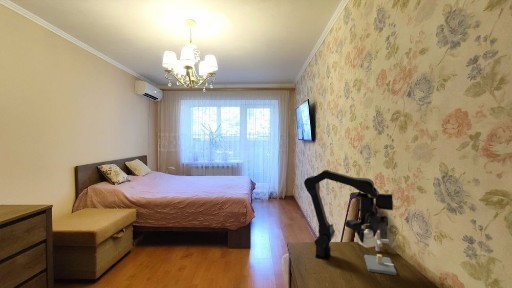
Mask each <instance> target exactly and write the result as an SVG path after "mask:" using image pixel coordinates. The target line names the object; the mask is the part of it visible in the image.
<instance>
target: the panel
mask: <svg viewBox="0 0 512 288" xmlns="http://www.w3.org/2000/svg"><path fill="white" fill-rule="evenodd" d="M363 257H364V258H363V259H364V261H365V262H364V263H365V264H366V269H367V271H368V272H371V273H378V274H385V275H386V274H387V275H392V276H397V273H398V272H397V270H396V268H395V264H393V261H392V260H391V258H390V257H385V256H382V254H378V253H376V255H370V254H364V256H363Z"/></svg>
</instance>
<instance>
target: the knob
mask: <svg viewBox="0 0 512 288" xmlns="http://www.w3.org/2000/svg"><path fill="white" fill-rule="evenodd" d="M364 229H365V228H364ZM358 244H359V245H361V246H363V247H364V248H366V249H367V248H372V247H376V237H374V236H373V231H371V230H369V228H367V229H365V231H364V241H363V243H362V242H361V241H360V239H359V238H358Z"/></svg>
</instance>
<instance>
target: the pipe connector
mask: <svg viewBox="0 0 512 288" xmlns="http://www.w3.org/2000/svg"><path fill="white" fill-rule="evenodd" d="M375 237H376V246H375V251H377V252H380V251H381V250H380V248H382V247H383V244H389V243H390V240H389V239H387V238H385V239H384V238H381V231H380V230H378V231H377V233H376V235H375Z"/></svg>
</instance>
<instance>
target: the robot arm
mask: <svg viewBox="0 0 512 288" xmlns="http://www.w3.org/2000/svg"><path fill="white" fill-rule="evenodd" d="M324 180H330V181H333V182H336V183H339V184H342V185H343V184H344V185H346V186H349V187H352V188H354V189H355V190H357V193H355V197H356V198H359V208H358V209H357V211H359V216H358V217H357V220H356V219H353V218H352V219H347V220H346V221H345V227H347V228H348V229H350V230H353V231H355V232H356V234H357V237H358V240H359V239H360V241H361V242H362V243H363V241H364V231H365V228H364V226H368V230H371V231H373V236H374V237H375V235H376V233H377V231H380V230H383V229H384V228H385V227H387V226H389V221H388V217H387V216H386V215H382V216H380V215H378V214H377V211H376V210H375V207H376V208H377V210H378V209H379V210H386V211H393V210H394V200H393V194H392V193H380V191H378V189H377V188H376V187H375V182H374V181H373V180H372V179H371V178H366V177H365V178H364V177H354V176H351V175H346V174H343V173H340V172H339V173H338V172H335V171H332V170H329V169H324V170H322V171H321V172H319V173H318V174H316V175H310V176H308V177H307V178H305V179H304V181H303V184H304V187H305V189H306V191H307V193H308V194H309V196H310V198H311V202H312V204H313V205H312V206H313V208H314V209H313V210H314V212H315V216H316V219H317V223H318V236H317V237H316V239H315V240H314V241H313V242H314V245H315V254H314V255H315V256H314V257H315V258H317V259H324V260H330V257H331V246H330V242H331V241H332V240H333V238H334V237H335V232H336V230H335V228H334V224H333V223H331V224H330V223H329V221H328V218H327V215H326V211H325V207H324V204H323V200H322V197H321V194H320V192H321V191H320V190H321V187H320V186H321V185H320V183H321V182H322V181H323V182H324Z"/></svg>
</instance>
